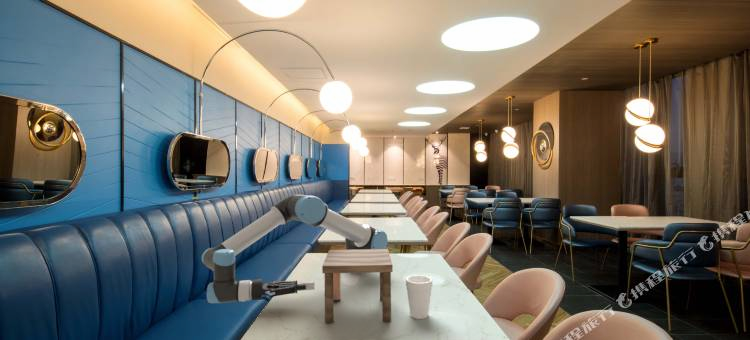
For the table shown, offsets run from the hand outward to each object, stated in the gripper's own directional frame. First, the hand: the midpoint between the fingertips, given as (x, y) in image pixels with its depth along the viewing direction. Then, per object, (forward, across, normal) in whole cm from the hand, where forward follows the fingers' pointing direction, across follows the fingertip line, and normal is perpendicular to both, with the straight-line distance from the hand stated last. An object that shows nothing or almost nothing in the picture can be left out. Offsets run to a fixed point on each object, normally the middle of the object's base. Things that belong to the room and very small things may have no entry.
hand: (314, 285), depth 142 cm
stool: (+16, +10, -7) cm, 20 cm away
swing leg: (+7, +7, -6) cm, 12 cm away
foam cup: (+37, +20, -7) cm, 42 cm away
